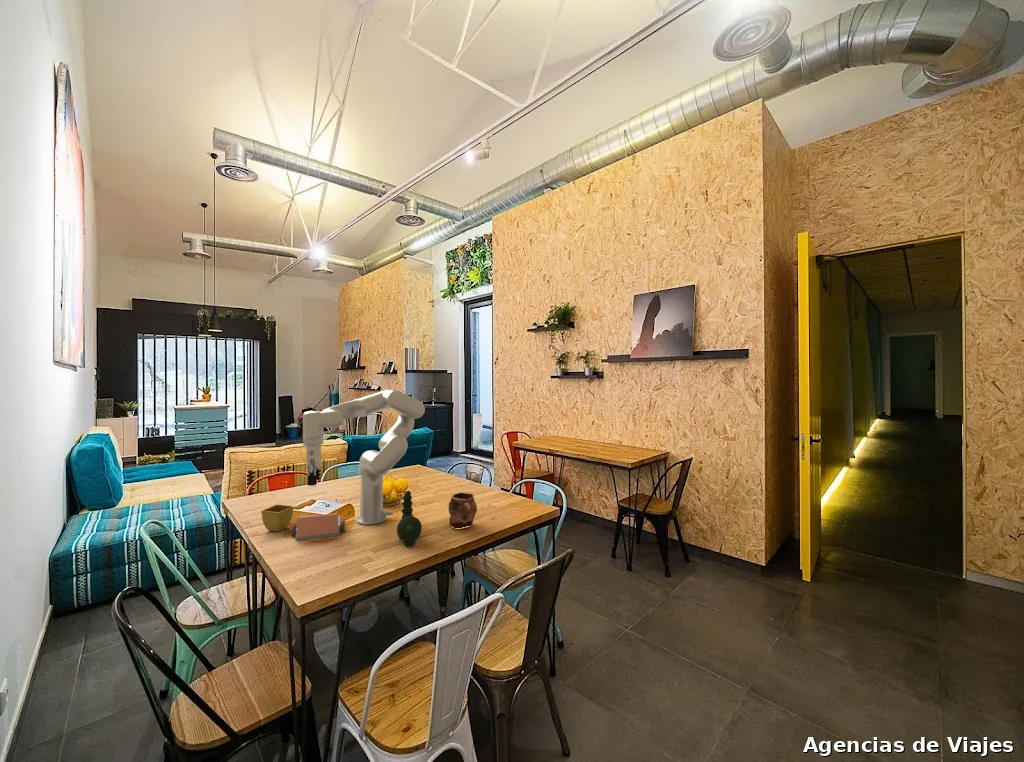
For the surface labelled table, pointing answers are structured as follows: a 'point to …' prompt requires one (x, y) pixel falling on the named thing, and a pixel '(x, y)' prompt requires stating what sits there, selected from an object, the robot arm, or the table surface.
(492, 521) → the table surface
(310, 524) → the panel
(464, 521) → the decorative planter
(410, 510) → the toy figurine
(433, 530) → the table surface
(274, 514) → the flower pot
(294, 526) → the trailer
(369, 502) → the robot arm
